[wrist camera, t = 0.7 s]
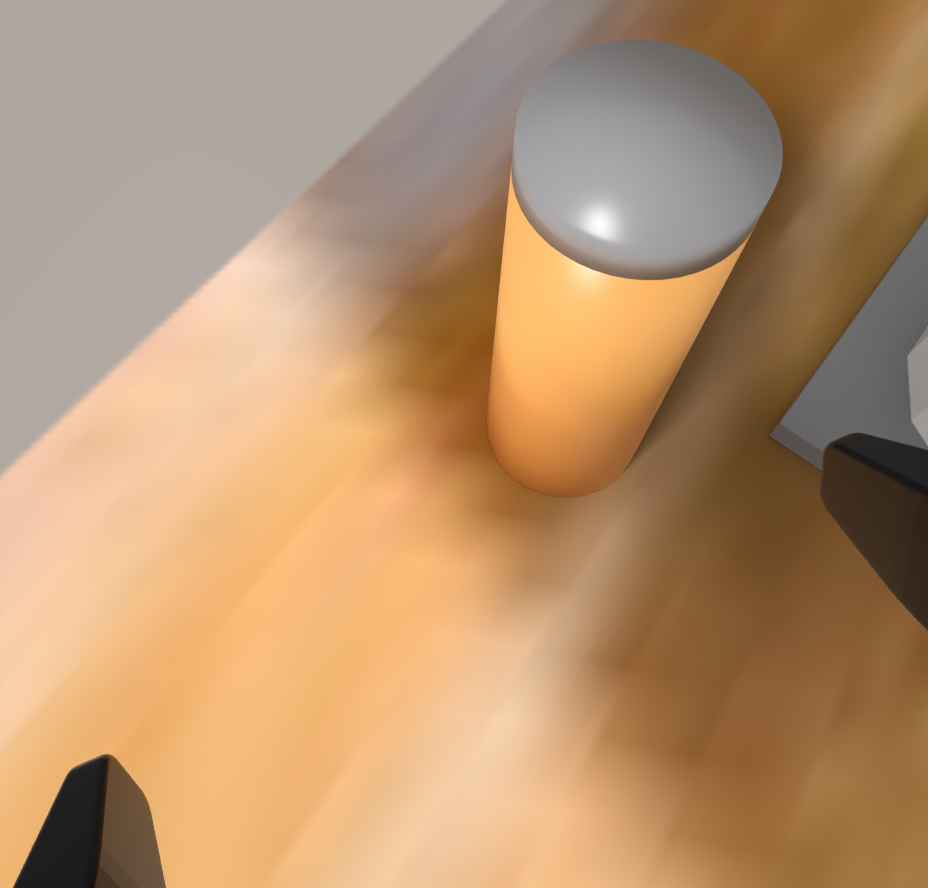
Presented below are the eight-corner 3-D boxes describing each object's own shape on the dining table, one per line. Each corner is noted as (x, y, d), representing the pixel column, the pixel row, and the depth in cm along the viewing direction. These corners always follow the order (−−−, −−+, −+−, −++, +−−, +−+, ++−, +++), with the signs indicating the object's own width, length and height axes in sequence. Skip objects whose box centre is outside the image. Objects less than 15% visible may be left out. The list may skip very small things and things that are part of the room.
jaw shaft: (667, 415, 28) (831, 123, 16) (579, 528, 26) (688, 296, 14) (546, 333, 29) (614, 3, 17) (455, 435, 27) (460, 150, 15)
